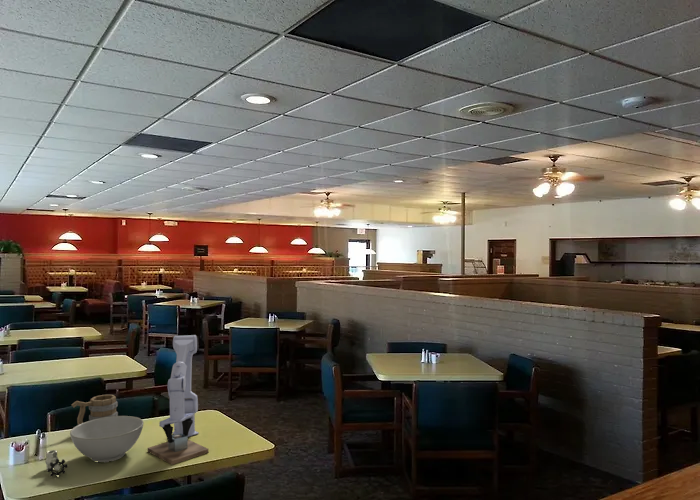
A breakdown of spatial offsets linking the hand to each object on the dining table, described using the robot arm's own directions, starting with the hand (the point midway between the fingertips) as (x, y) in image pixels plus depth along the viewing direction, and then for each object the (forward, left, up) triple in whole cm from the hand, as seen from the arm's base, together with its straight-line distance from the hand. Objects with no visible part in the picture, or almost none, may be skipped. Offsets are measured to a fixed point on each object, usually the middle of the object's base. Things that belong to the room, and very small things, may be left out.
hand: (177, 440), depth 217 cm
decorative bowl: (-17, -21, -5) cm, 28 cm away
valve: (-17, -41, -5) cm, 45 cm away
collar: (0, 0, -3) cm, 3 cm away
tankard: (-54, -12, -5) cm, 55 cm away
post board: (0, 0, -5) cm, 5 cm away
